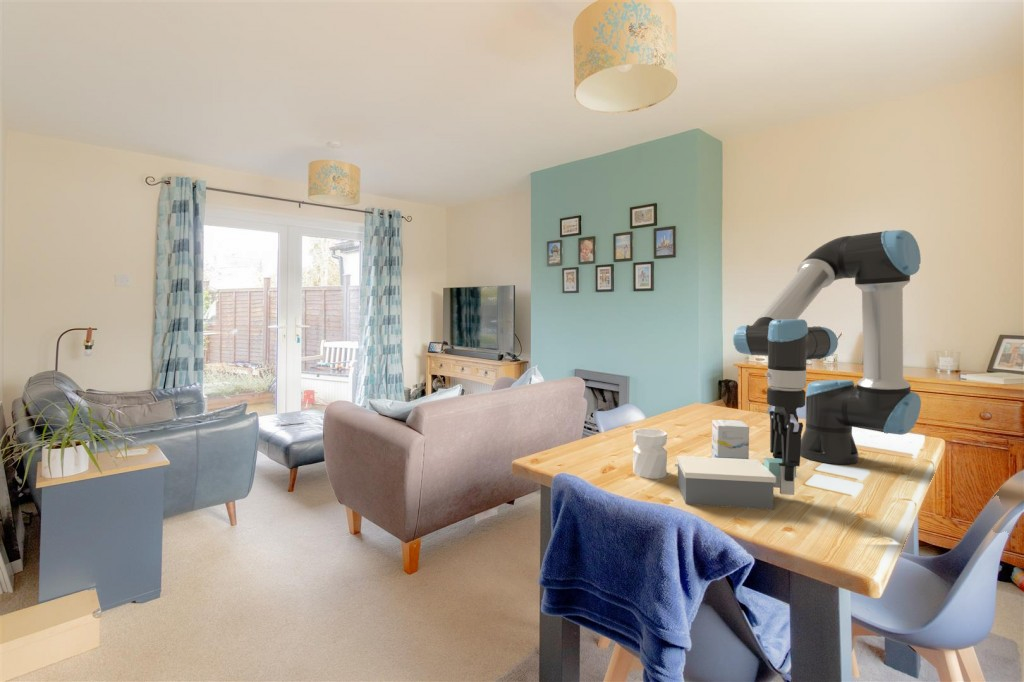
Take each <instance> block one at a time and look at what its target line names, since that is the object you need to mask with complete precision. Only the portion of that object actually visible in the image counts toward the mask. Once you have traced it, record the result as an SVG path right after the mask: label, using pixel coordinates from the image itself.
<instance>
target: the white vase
mask: <svg viewBox="0 0 1024 682" xmlns="http://www.w3.org/2000/svg"><path fill="white" fill-rule="evenodd" d="M667 440H668V433H667V432H666V431H664V430H661V429H656V428H637V429H634V430H633V431H632V441H633V442H634V444H636V446H634V447H633V450H632V451H633V452H632V471H633V474H634V475H636V476H638V477H640V478H645V479H657V480H658V479H662V478H663V479H664V478H666V476H667V474H668V472H667V471H668V470H667V469H668V468H667V465H668V464H667V462H668V451H667V449H665V448H664V446H666V445H667V444H668V443H667Z"/></svg>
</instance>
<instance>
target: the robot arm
mask: <svg viewBox="0 0 1024 682" xmlns="http://www.w3.org/2000/svg"><path fill="white" fill-rule="evenodd" d="M921 261H922V260H921V250H920V246H919V244H918V242H917V240H916V238H915V237H914V235H913V234H912V233H911V232H909V231H907V230H904V229H903V230H902V229H897V230H896V229H895V230H884V231H876V232H869V233H862V234H855V235H845V236H841V237H838V238H834V239H832V240H830V241H828V242H826V243H824V244H822V245H821V246H819V247H818V248H816V249H814V250H813V251H812V252H811V253H809V255H808V256H806V257H805V259H803V260H802V261H801V263H800V264H799V265H798V267H797V273H796V274H795V275H794V276H793V277H792V279H791V280H790V281H789V283H787V285H785V287H784V288H783V289H782V290H781V291H780V293H779V294H778V295H776V297H775V299H774V300H773V301H772V302H771V303H770V304H769V305H768V306H767V307H766V308H765V310H764V311H763V312H762V314H760V316H759V317H758V318H757V319H756V321H754V323H753V324H751V325H750V324H746V325H741V326H739V327H737V328H736V329H735V331H734V334H733V337H732V338H733V339H732V341H733V346H734V349H735V351H737V352H738V353H740V354H744V355H749V356H750V355H751V356H761V357H762V356H765V357H767V372H766V373H765V374H764V376H765V377H766V378H767V383H766V385H768V386H769V387H768V388H767V389H766V403H767V405H769V406H771V407H774V410H770V411H768V412H769V421H770V424H769V425H770V428H769V431H770V433H769V436H770V437H769V439H770V440H769V441H770V442H769V443H770V445H769V447H770V448H769V451H770V453H771V454H772V458H780V459H782V463H779V466H780V476H775V477H776V483H774V488H776V489H777V488H778V489H779V494H780V495H787V496H788V495H789V496H794V495H795V478H796V477H795V467H796V468H797V467H800V465H801V457H803V458H805V459H808V460H810V461H815V462H820V463H826V464H834V465H837V464H838V465H851V464H852V465H853V464H856V463H858V462H859V451H858V448H857V445H856V443H855V442H856V441H855V440H854V436H853V428H857V429H862V430H868V431H869V430H870V431H875V432H879V433H884V434H893V435H898V436H900V435H906V434H908V433H910V432H911V430H912V429H914V427H915V425H916V424H917V422H918V419H919V416H920V412H921V406H922V401H921V397H920V395H919V393H917V392H913V391H912V390H911V386H912V385H911V383H910V382H909V381H908V380H906V379H905V378H904V345H903V344H904V332H903V331H904V330H903V329H904V314H903V311H904V310H903V309H904V307H903V306H904V305H903V304H904V303H903V300H904V299H903V297H904V296H903V294H904V293H903V291H904V290H903V289H904V288H905V287H906V286H907V285H908V284H909V283H910V282H911V276H913V275H916V274H917V273H918V272H919V270H920V265H921ZM842 279H854V285H855V286H856V287H857V288H858V289H860V290H861V307H862V308H861V313H862V315H861V316H862V320H861V321H862V365H863V366H862V368H863V369H862V371H863V373H862V374H863V376H862V378H860V379H859V380H858V381H857V382H856V386H855V383H854V381H853V380H851V379H850V380H849V379H827V380H815V381H814V380H813V381H811V382H809V383H807V360H821V359H825V358H828V357H830V356H832V355H833V354H834V353H835V352H836V351H837V349H838V345H839V341H838V337H837V335H836V333H835V332H834V331H833V330H831V329H830V328H828V327H825V326H820V325H819V326H808V323H807V320H806V319H802V318H800V316H801V315H802V314H803V313H804V312H805V310H806V309H807V308H808V307H809V306H810V304H811V303H812V302H813V301H814V299H815V298H816V297H817V296H818V294H819V293H820V292H821V291H822V290H823V289H825V288H827V287H829V286H831V285H832V284H833V282H835V281H837V280H842ZM799 318H800V319H799ZM805 388H806V390H804V389H805ZM803 407H805V430H804V431H803V427H804V424H803V422H799V416H798V413H797V412H798V411H797V409H799V408H800V409H801V408H803ZM802 432H803V434H802Z"/></svg>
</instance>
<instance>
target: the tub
mask: <svg viewBox="0 0 1024 682" xmlns="http://www.w3.org/2000/svg"><path fill="white" fill-rule="evenodd" d="M677 464H678V463H677ZM677 486H678V489H679V492H680V494H681V496H682V498H683V501H684V503H685V505H695V506H696V505H697V506H709V507H710V506H711V507H723V508H724V507H725V508H739V509H740V508H742V509H756V510H774V483H773V482H754V481H735V480H717V479H698V478H685V477H684V475H683V473H682V471H681V469H680V466H679V464H678V467H677Z"/></svg>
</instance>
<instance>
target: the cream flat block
mask: <svg viewBox="0 0 1024 682" xmlns="http://www.w3.org/2000/svg"><path fill="white" fill-rule="evenodd" d="M676 463H677V464H679V466H680V469H681V471H682V473H683V475H684V477H685V478H698V479H717V480H735V481H754V482H773V483H776V477H775V476H780V466H779V463H782V459H780V458H774V457H764V458H763V463H762V462H761V461H760V460H759V459H753V458H750V459H736V458H714V457H709V456H689V455H688V456H686V455H676ZM795 478H797V466H796V467H795Z"/></svg>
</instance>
